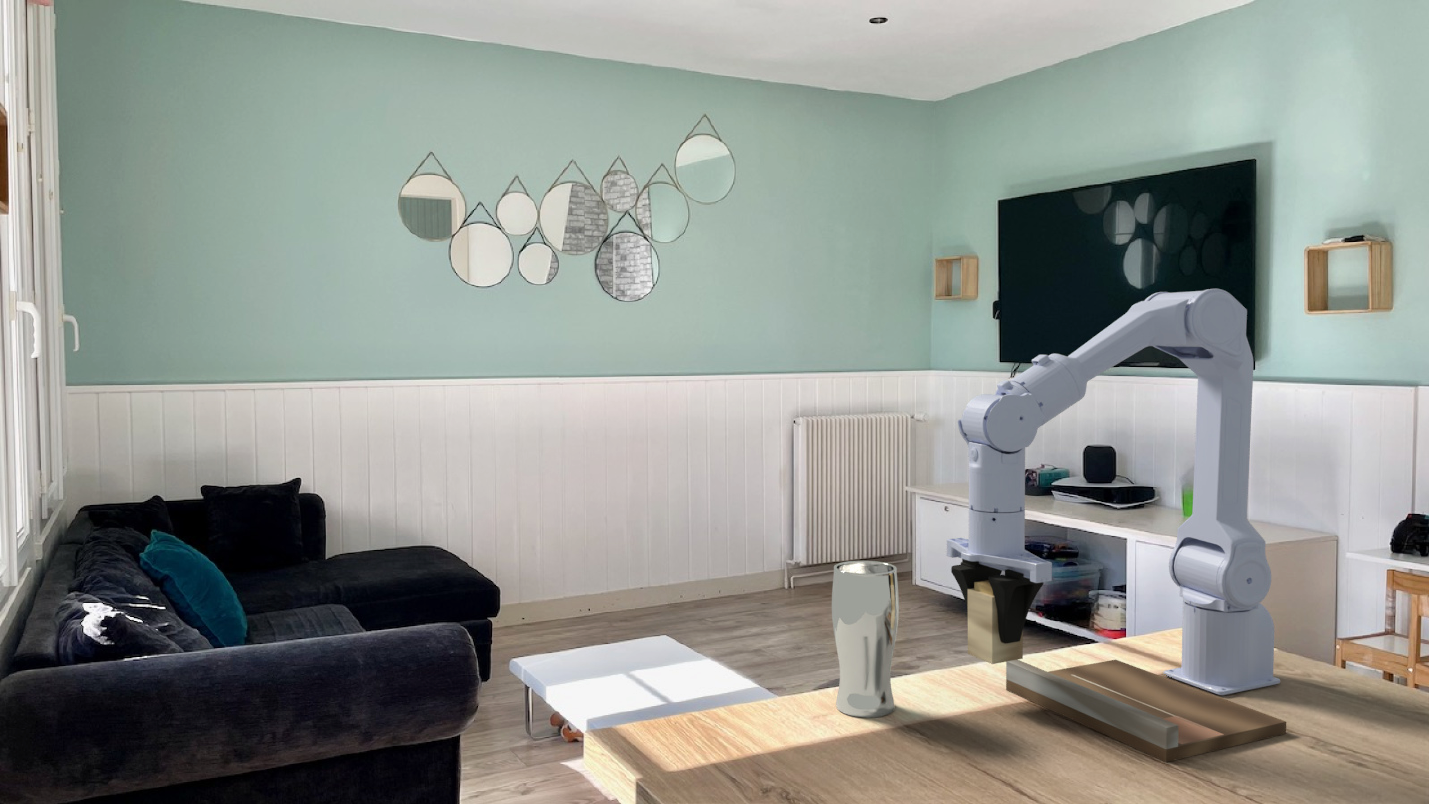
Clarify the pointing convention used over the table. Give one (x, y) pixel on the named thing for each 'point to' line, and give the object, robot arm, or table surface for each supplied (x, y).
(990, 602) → the tan block
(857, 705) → the beer glass
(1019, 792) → the table surface
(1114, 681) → the board
